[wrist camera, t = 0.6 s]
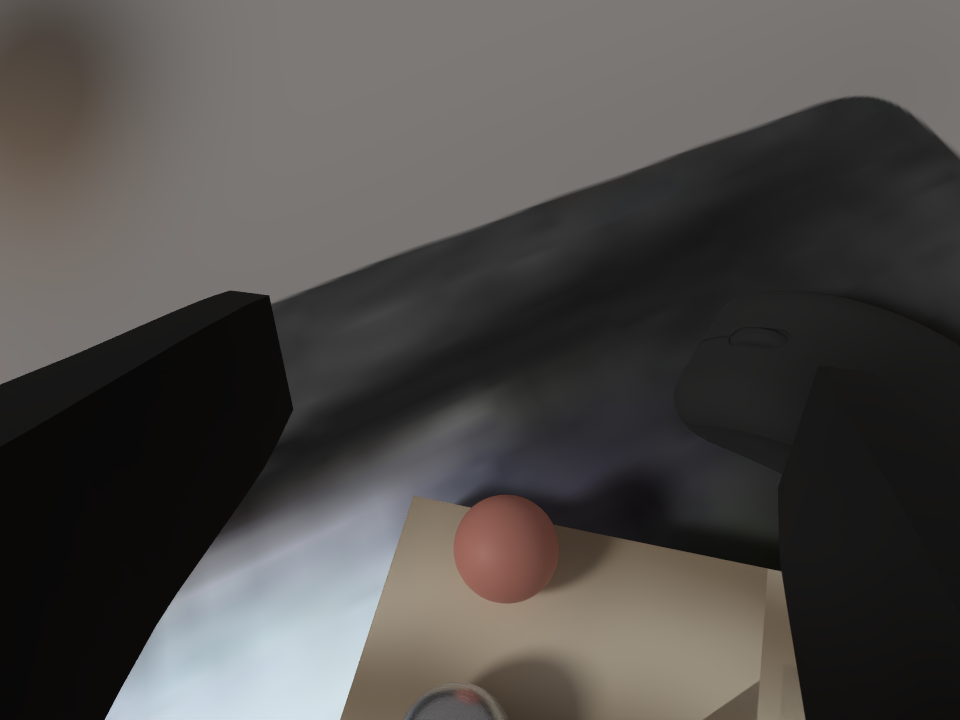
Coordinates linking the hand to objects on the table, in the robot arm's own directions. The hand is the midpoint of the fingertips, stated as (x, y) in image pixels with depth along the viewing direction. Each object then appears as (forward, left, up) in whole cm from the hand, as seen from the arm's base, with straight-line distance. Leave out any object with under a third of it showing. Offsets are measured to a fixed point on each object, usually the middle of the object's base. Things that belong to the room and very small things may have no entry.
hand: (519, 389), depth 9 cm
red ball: (+1, +2, -13) cm, 13 cm away
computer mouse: (+10, -8, -17) cm, 21 cm away
